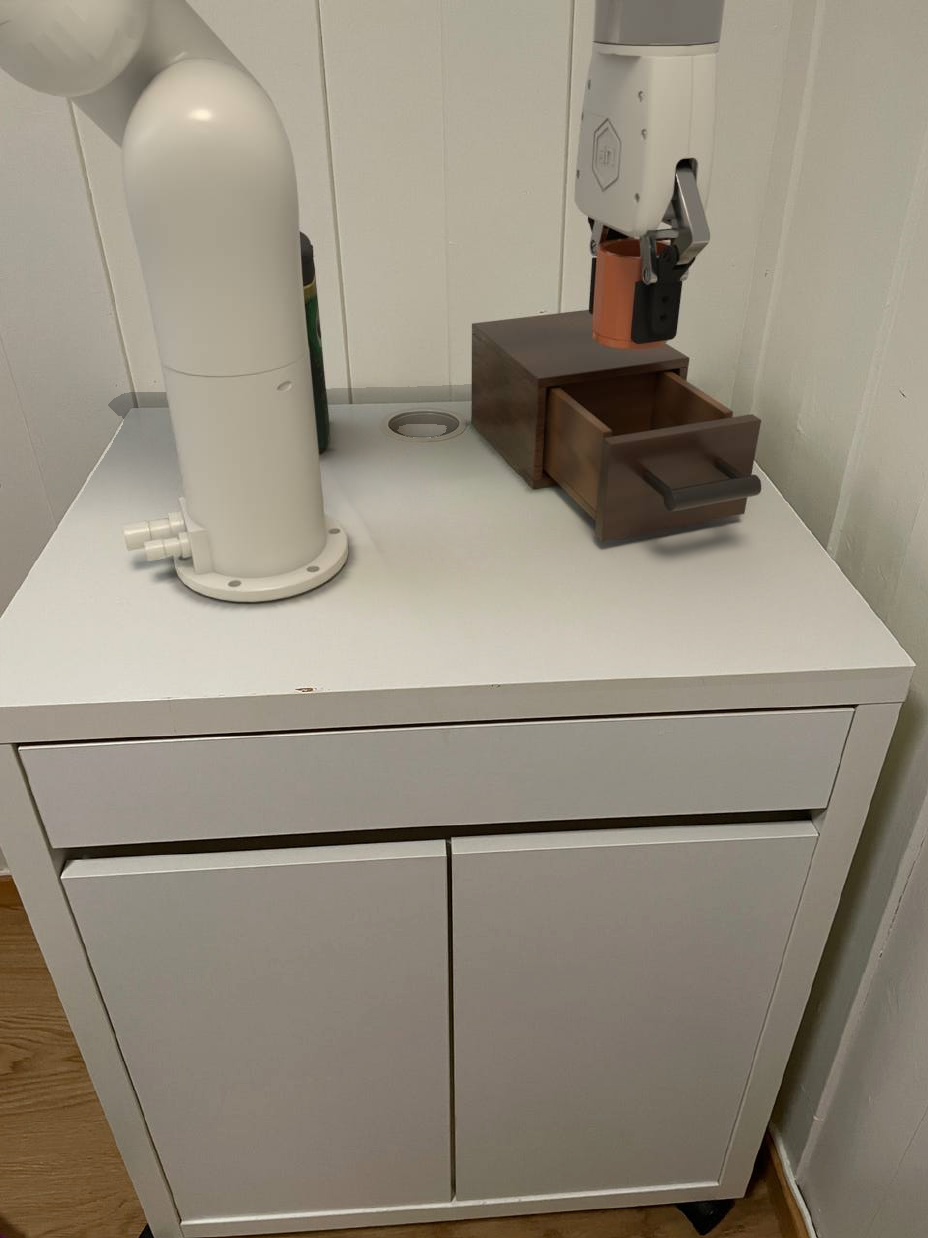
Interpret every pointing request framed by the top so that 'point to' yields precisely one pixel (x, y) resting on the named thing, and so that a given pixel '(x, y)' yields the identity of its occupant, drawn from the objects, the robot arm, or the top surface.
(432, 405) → the top surface
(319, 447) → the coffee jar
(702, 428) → the drawer
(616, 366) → the cabinet
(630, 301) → the cup
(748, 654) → the top surface
